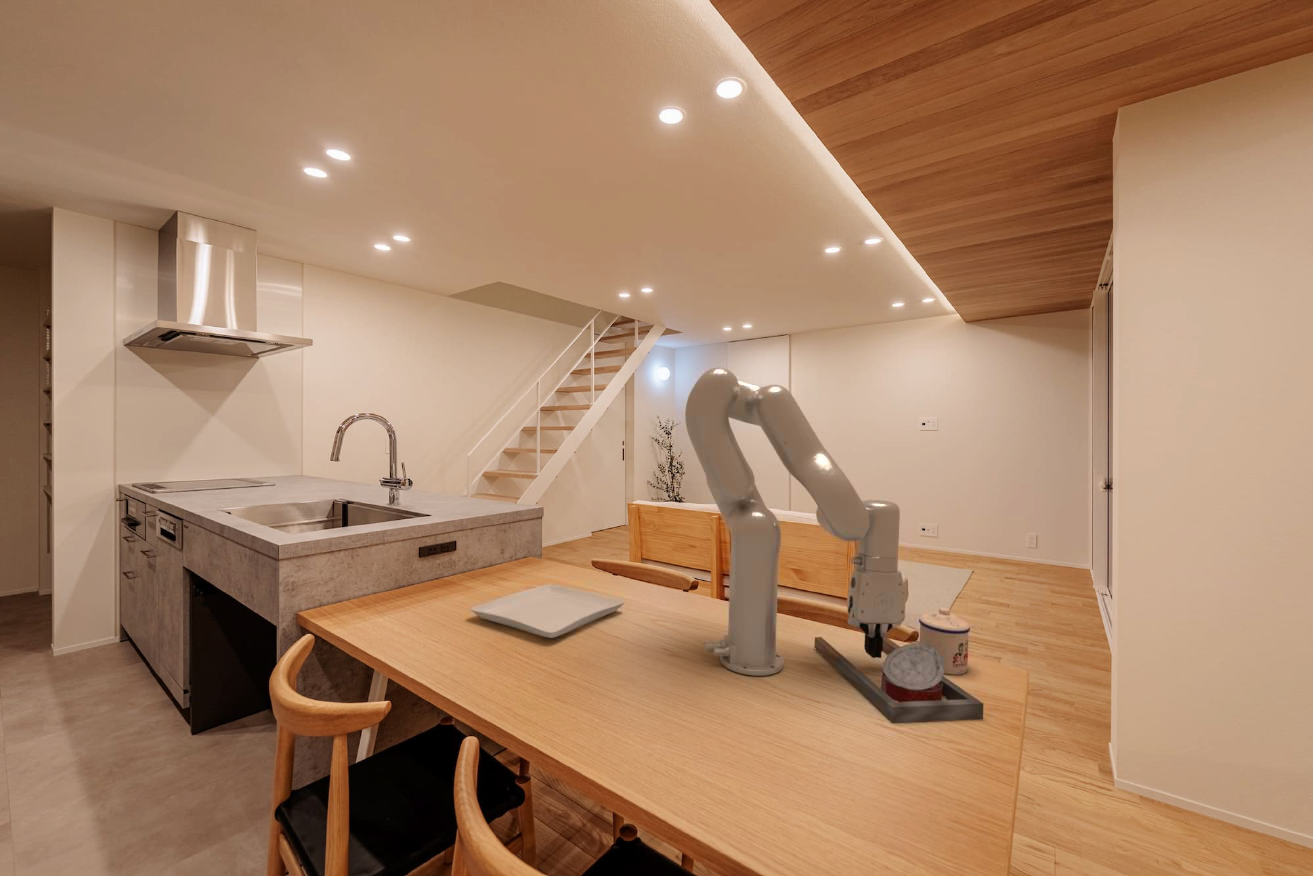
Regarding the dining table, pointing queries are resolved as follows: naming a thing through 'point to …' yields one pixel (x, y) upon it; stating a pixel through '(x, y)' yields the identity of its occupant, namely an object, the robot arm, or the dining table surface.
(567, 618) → the square plate
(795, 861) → the dining table surface
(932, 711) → the can dock
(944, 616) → the teacup with lid
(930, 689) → the canned food
